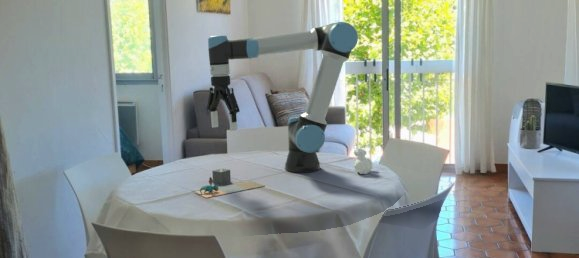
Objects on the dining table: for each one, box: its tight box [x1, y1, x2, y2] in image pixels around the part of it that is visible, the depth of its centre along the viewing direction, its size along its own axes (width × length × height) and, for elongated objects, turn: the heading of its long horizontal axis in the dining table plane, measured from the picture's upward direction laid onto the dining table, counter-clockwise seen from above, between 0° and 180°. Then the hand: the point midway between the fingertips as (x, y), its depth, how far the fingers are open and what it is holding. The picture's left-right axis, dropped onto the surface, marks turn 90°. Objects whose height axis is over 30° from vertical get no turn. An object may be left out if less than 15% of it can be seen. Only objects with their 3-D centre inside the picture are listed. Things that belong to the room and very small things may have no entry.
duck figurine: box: [353, 147, 373, 175], centre depth 238 cm, size 12×8×11 cm
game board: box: [193, 180, 266, 199], centre depth 216 cm, size 26×10×1 cm, turn 126°
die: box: [212, 168, 232, 185], centre depth 227 cm, size 5×5×5 cm
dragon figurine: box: [192, 176, 219, 196], centre depth 211 cm, size 6×7×8 cm
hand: (224, 128), depth 226 cm, fingers open, 13 cm apart
